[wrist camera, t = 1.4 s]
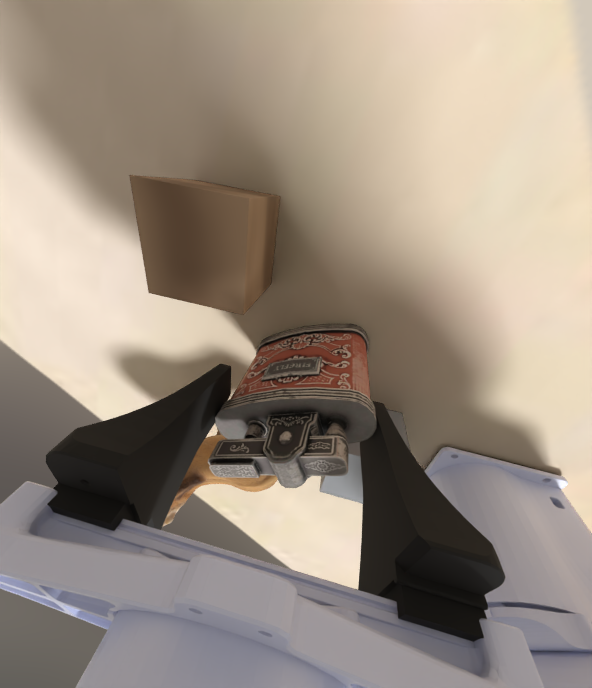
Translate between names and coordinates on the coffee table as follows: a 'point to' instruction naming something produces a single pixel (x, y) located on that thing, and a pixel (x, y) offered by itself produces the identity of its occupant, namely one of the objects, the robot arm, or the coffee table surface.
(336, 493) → the gray block
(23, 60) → the coffee table surface
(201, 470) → the lion figurine
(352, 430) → the lighter
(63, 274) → the coffee table surface
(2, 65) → the coffee table surface
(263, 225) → the walnut block
